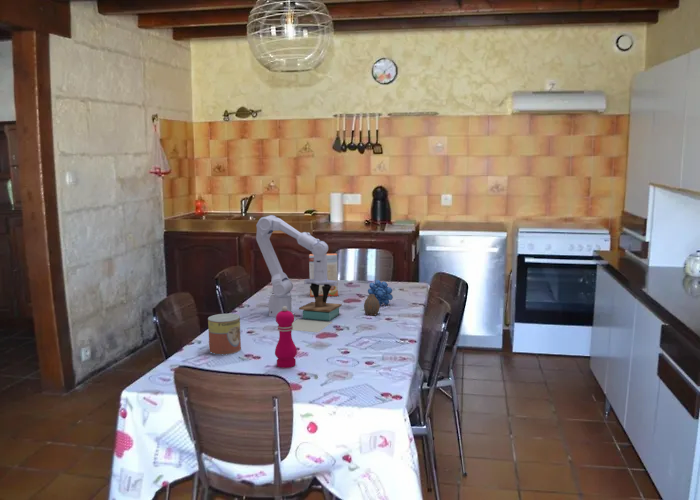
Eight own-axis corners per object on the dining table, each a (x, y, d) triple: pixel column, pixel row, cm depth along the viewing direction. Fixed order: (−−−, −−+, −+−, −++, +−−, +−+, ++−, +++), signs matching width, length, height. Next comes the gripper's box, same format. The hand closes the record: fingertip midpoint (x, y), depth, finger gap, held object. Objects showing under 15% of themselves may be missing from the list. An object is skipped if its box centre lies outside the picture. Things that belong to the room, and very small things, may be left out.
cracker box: (337, 293, 309) (337, 252, 306) (338, 296, 303) (337, 254, 300) (309, 294, 308) (309, 253, 305) (309, 297, 302) (309, 255, 299)
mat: (280, 330, 244) (280, 328, 244) (297, 320, 259) (297, 319, 259) (317, 333, 239) (317, 332, 239) (332, 323, 254) (332, 322, 254)
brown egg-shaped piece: (378, 316, 264) (378, 296, 263) (362, 315, 265) (362, 296, 264) (380, 312, 271) (380, 293, 269) (365, 312, 272) (365, 292, 271)
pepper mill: (275, 361, 206) (274, 303, 203) (297, 360, 207) (295, 303, 204) (274, 369, 199) (273, 309, 196) (297, 368, 200) (295, 308, 197)
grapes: (367, 307, 280) (367, 281, 278) (368, 303, 287) (367, 278, 285) (392, 307, 279) (392, 281, 278) (392, 304, 286) (392, 278, 284)
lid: (298, 309, 258) (298, 298, 257) (311, 303, 271) (311, 292, 270) (329, 312, 253) (329, 300, 252) (341, 305, 266) (341, 295, 266)
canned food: (225, 356, 212) (224, 323, 210) (202, 351, 218) (200, 318, 216) (247, 348, 222) (246, 315, 220) (224, 343, 228) (223, 312, 226)
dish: (302, 319, 259) (302, 310, 259) (313, 313, 271) (313, 304, 270) (329, 322, 255) (329, 312, 255) (339, 315, 267) (339, 306, 266)
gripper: (301, 270, 259) (301, 302, 261) (332, 272, 254) (333, 304, 256) (307, 268, 265) (308, 298, 267) (338, 269, 260) (339, 300, 262)
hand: (321, 301), depth 262 cm, fingers open, 3 cm apart
